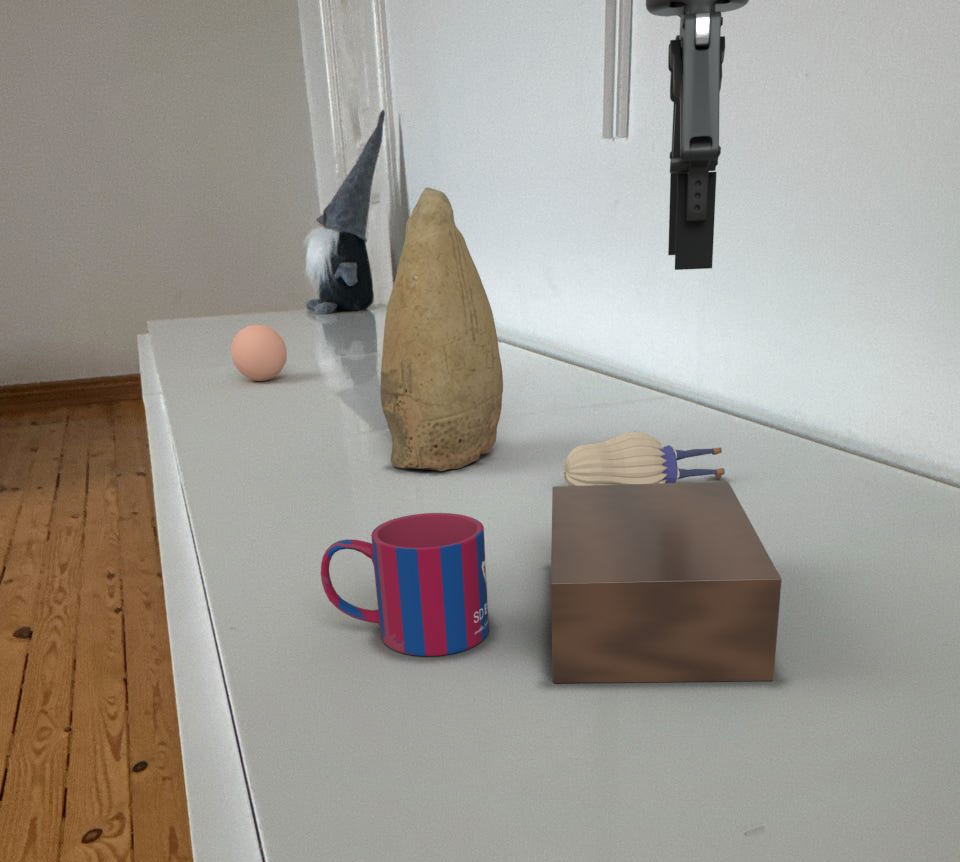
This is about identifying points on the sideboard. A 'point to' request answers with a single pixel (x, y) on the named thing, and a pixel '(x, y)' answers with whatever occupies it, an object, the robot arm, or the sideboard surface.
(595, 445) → the figurine
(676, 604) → the walnut block
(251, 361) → the toy ball
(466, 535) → the mug
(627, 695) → the sideboard surface
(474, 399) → the sculpture
